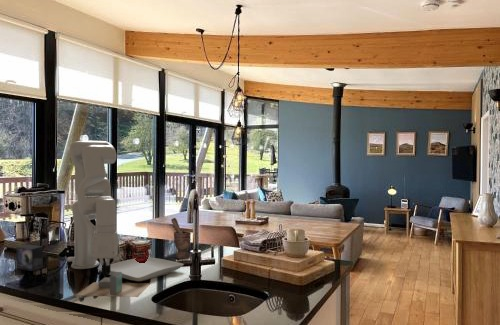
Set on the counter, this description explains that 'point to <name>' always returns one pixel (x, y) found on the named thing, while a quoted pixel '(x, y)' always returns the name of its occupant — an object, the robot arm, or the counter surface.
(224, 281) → the counter surface
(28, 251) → the small box
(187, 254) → the mortar and pestle
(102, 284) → the tile
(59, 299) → the counter surface
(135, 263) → the square plate
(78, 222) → the robot arm
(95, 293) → the cork mat
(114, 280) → the tile
